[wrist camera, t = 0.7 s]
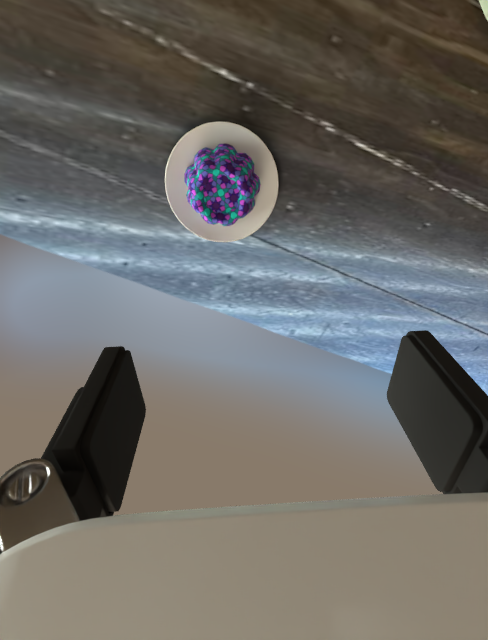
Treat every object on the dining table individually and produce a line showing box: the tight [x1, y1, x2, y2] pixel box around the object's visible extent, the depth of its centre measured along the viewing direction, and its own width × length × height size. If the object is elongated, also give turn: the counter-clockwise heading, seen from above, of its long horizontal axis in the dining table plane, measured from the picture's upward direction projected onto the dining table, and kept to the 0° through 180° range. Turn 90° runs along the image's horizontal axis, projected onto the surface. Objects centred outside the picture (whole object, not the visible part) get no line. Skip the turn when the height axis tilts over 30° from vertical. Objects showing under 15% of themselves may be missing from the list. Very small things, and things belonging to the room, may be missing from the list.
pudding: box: [165, 121, 279, 242], centre depth 34 cm, size 12×12×5 cm
